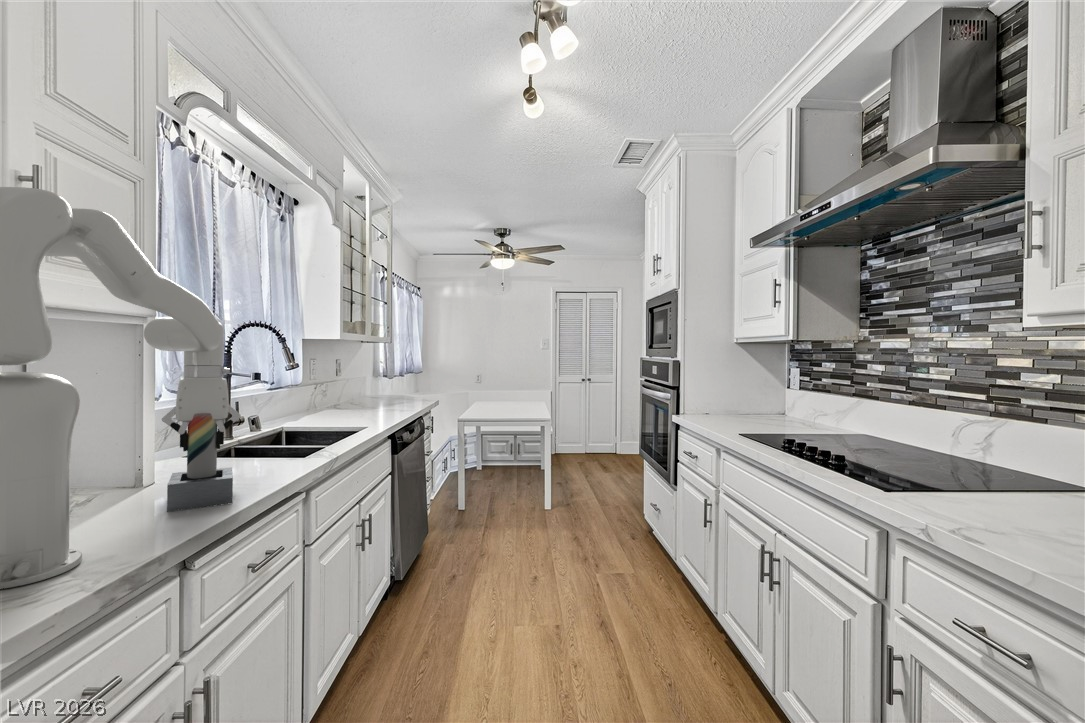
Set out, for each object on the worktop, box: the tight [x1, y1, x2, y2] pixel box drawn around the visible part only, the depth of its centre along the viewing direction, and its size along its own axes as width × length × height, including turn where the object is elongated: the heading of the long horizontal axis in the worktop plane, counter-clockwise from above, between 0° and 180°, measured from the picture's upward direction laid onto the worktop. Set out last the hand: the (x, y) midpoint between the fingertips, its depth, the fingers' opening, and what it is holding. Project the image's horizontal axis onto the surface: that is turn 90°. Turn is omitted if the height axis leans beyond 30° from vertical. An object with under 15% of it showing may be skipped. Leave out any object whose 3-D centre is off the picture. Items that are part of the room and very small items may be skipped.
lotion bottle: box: [186, 413, 218, 478], centre depth 111 cm, size 6×6×20 cm
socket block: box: [166, 467, 234, 513], centre depth 112 cm, size 12×12×6 cm
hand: (202, 448), depth 111 cm, fingers closed on lotion bottle, 5 cm apart
